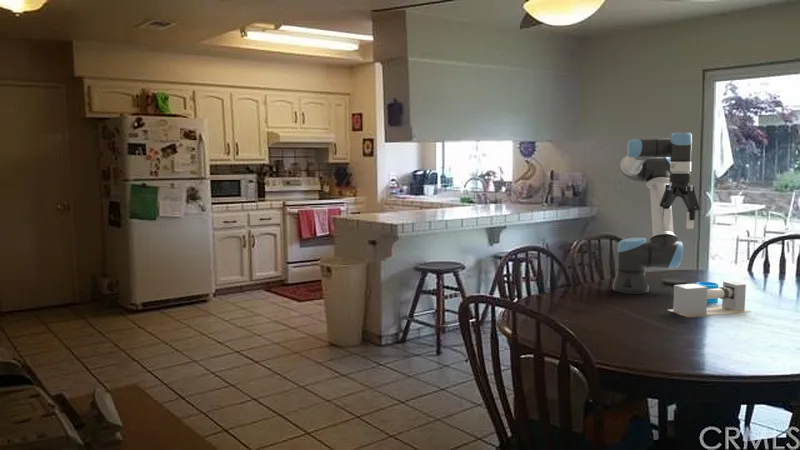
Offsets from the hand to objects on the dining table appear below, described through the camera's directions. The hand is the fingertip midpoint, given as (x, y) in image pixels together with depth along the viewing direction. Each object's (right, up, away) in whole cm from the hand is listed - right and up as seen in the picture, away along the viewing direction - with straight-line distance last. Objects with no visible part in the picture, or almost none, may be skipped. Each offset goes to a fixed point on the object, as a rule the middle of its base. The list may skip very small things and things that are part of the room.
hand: (678, 226), depth 251 cm
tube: (+11, -27, -9) cm, 31 cm away
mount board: (+8, -33, -9) cm, 35 cm away
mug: (+16, -31, +8) cm, 36 cm away
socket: (+18, -31, -6) cm, 37 cm away
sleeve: (0, -32, -11) cm, 34 cm away
